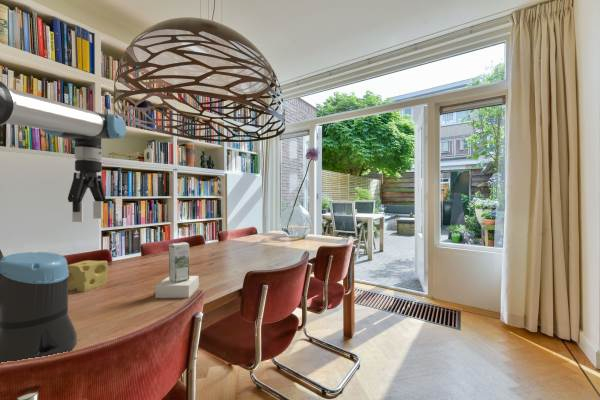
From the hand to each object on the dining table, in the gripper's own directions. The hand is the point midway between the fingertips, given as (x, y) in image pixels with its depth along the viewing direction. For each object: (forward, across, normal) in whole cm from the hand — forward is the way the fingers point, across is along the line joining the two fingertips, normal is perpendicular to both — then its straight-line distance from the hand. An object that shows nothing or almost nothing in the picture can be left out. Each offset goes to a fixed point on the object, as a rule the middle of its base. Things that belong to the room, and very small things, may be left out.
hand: (88, 220), depth 96 cm
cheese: (+29, +16, +8) cm, 34 cm away
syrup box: (+24, +2, -30) cm, 39 cm away
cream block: (+29, +2, -30) cm, 42 cm away
